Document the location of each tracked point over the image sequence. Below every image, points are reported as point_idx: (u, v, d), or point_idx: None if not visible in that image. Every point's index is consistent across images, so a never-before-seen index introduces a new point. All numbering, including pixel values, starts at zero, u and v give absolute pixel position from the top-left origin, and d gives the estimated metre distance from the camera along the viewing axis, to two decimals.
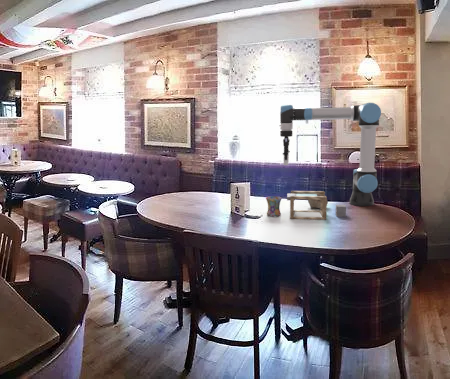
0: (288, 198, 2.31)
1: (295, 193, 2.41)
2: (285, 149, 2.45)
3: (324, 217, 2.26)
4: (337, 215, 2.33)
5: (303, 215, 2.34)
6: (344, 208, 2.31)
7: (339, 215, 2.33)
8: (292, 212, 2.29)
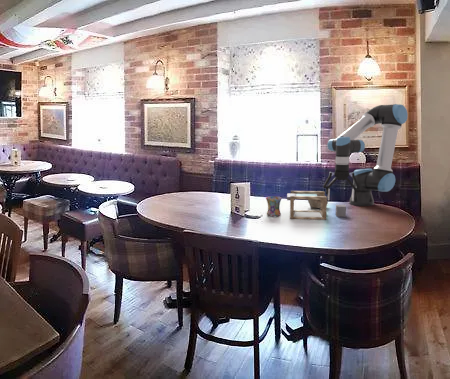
0: (288, 198, 2.31)
1: (295, 193, 2.41)
2: (324, 183, 2.34)
3: (324, 217, 2.26)
4: (337, 215, 2.33)
5: (303, 215, 2.34)
6: (344, 208, 2.31)
7: (339, 215, 2.33)
8: (292, 212, 2.29)
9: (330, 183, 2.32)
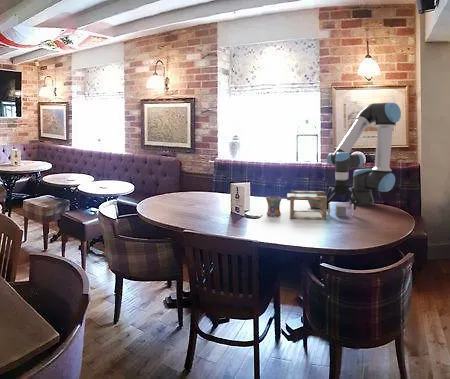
0: (288, 198, 2.31)
1: (295, 193, 2.41)
2: None
3: (324, 217, 2.26)
4: (337, 215, 2.33)
5: (303, 215, 2.34)
6: (344, 208, 2.31)
7: (339, 215, 2.33)
8: (292, 212, 2.29)
9: (330, 198, 2.33)
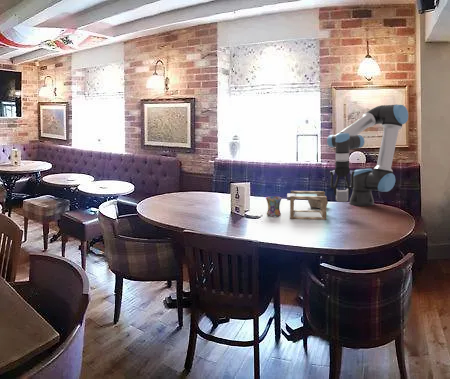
0: (288, 198, 2.31)
1: (295, 193, 2.41)
2: None
3: (324, 217, 2.26)
4: (338, 200, 2.32)
5: (303, 215, 2.34)
6: (345, 193, 2.30)
7: (340, 200, 2.31)
8: (292, 212, 2.29)
9: (335, 183, 2.31)
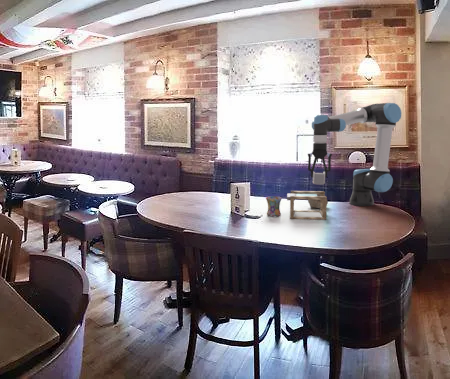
0: (288, 198, 2.31)
1: (295, 193, 2.41)
2: (308, 166, 2.32)
3: (324, 217, 2.26)
4: (315, 183, 2.30)
5: (303, 215, 2.34)
6: (322, 175, 2.29)
7: (317, 182, 2.30)
8: (292, 212, 2.29)
9: None
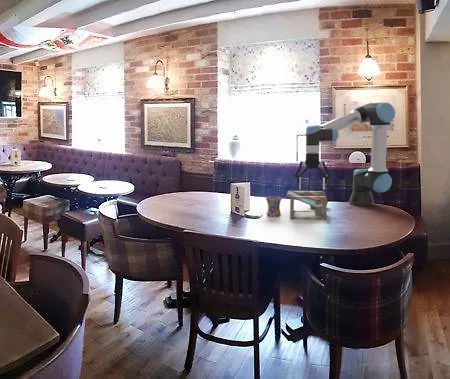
0: (288, 195, 2.31)
1: (295, 193, 2.41)
2: (296, 172, 2.33)
3: (324, 217, 2.26)
4: (315, 207, 2.32)
5: (303, 215, 2.34)
6: None
7: (316, 209, 2.32)
8: (292, 212, 2.29)
9: (301, 172, 2.31)
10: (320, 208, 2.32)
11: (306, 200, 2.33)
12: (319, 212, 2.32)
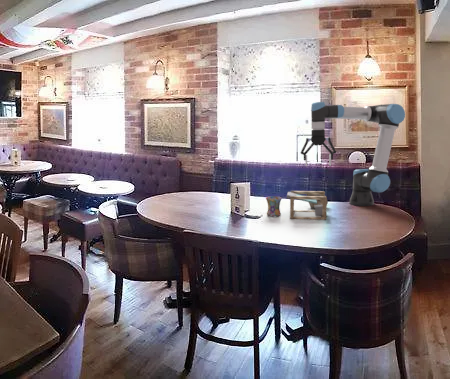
0: (288, 196, 2.31)
1: (295, 193, 2.41)
2: (302, 149, 2.37)
3: (324, 217, 2.26)
4: (315, 207, 2.32)
5: (303, 215, 2.34)
6: None
7: (316, 209, 2.32)
8: (292, 212, 2.29)
9: (307, 149, 2.35)
10: (320, 208, 2.32)
11: None
12: (319, 212, 2.32)
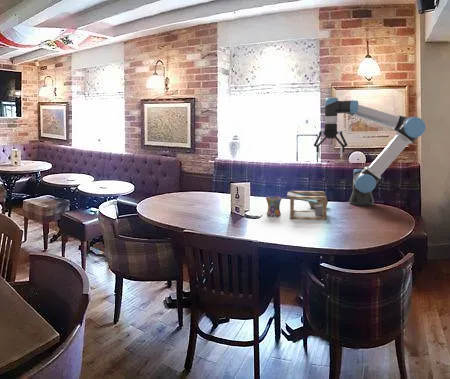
0: (288, 197, 2.31)
1: (295, 193, 2.41)
2: (315, 142, 2.52)
3: (324, 217, 2.26)
4: (315, 207, 2.32)
5: (303, 215, 2.34)
6: None
7: (316, 209, 2.32)
8: (292, 212, 2.29)
9: (320, 141, 2.50)
10: (320, 208, 2.32)
11: None
12: (319, 212, 2.32)
